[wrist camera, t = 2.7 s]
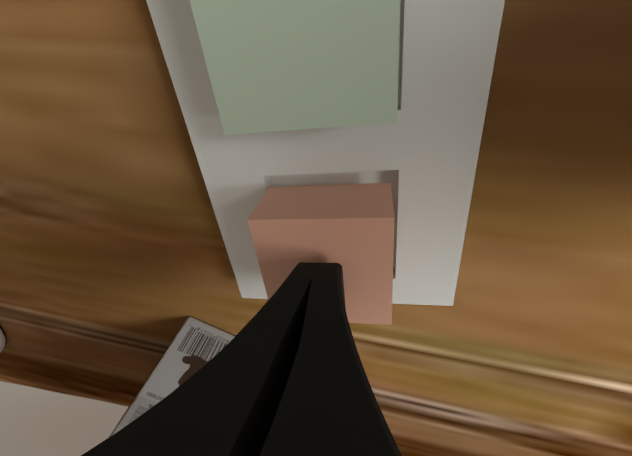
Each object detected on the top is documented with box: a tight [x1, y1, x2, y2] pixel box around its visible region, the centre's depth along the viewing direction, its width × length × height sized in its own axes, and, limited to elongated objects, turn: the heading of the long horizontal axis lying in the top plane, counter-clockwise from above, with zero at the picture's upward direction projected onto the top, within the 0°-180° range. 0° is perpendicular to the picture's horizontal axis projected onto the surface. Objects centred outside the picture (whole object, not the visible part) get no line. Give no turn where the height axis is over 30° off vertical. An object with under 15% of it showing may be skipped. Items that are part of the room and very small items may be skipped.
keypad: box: [146, 0, 505, 306], centre depth 10 cm, size 22×10×2 cm, turn 6°
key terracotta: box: [247, 183, 395, 325], centre depth 11 cm, size 4×4×2 cm
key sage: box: [189, 0, 400, 135], centre depth 8 cm, size 4×4×2 cm
